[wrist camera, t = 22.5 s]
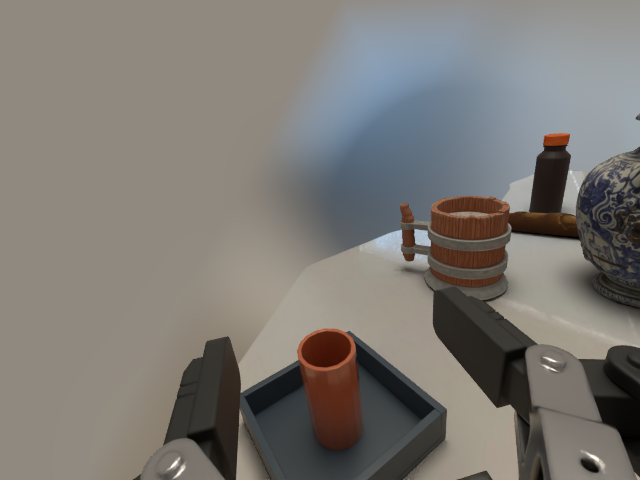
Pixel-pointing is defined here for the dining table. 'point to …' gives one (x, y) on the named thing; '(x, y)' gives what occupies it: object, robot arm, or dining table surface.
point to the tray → (378, 430)
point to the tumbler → (332, 387)
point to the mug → (462, 244)
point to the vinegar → (550, 175)
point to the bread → (544, 223)
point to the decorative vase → (613, 226)
